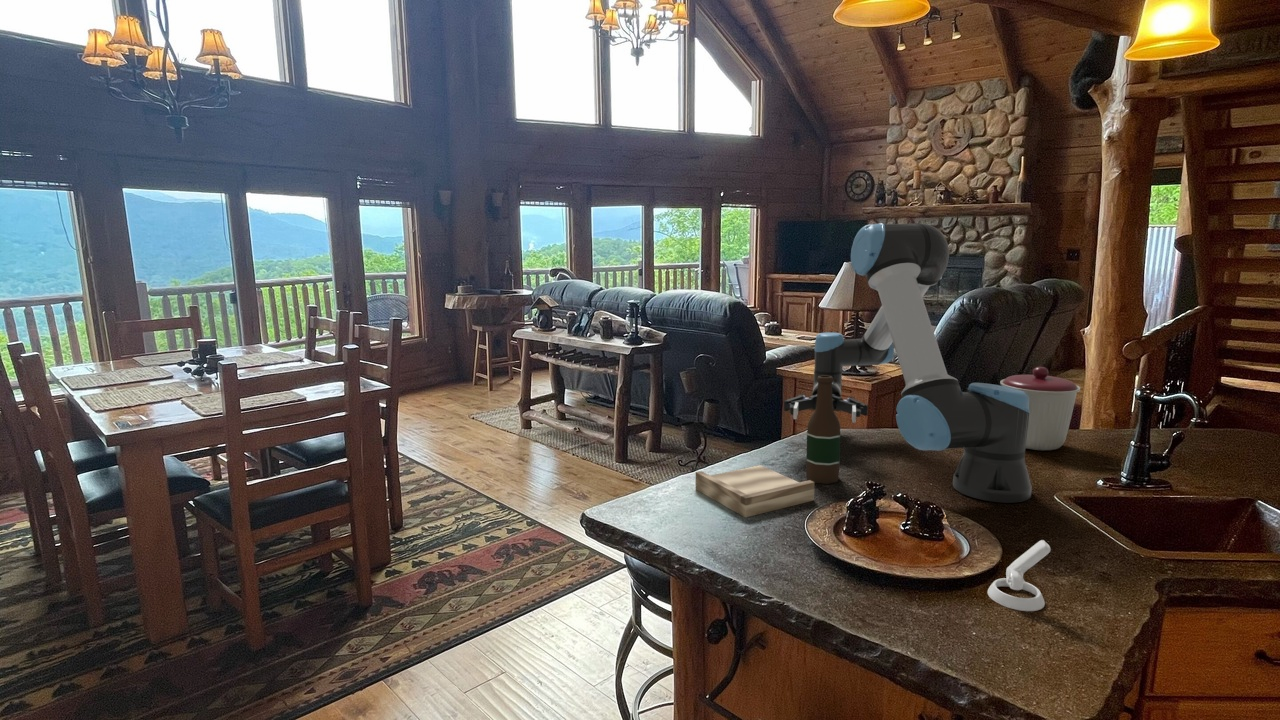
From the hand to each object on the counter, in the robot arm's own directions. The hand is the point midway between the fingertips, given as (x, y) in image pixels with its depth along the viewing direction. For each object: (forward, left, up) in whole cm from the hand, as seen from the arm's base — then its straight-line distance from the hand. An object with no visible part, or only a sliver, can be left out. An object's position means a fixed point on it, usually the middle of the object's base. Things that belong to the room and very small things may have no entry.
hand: (824, 415), depth 161 cm
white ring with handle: (-60, +17, -13) cm, 64 cm away
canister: (-15, -61, -13) cm, 64 cm away
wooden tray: (-6, +25, -13) cm, 29 cm away
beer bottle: (-6, +5, -13) cm, 15 cm away
